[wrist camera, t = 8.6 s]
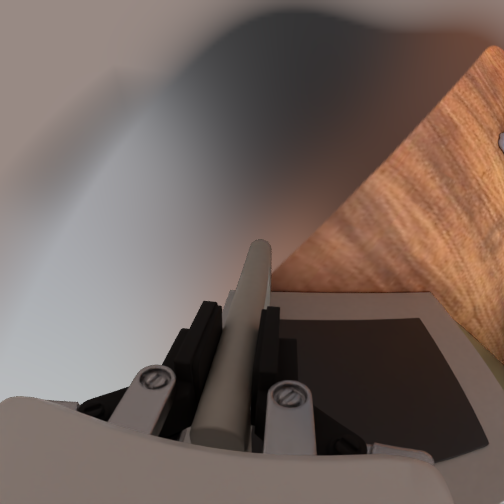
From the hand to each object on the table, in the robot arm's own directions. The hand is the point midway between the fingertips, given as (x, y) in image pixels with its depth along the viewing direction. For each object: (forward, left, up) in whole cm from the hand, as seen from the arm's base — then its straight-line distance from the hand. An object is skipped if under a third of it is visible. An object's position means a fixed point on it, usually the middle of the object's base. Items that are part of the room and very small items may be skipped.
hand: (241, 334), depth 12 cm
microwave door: (+7, +1, -13) cm, 15 cm away
